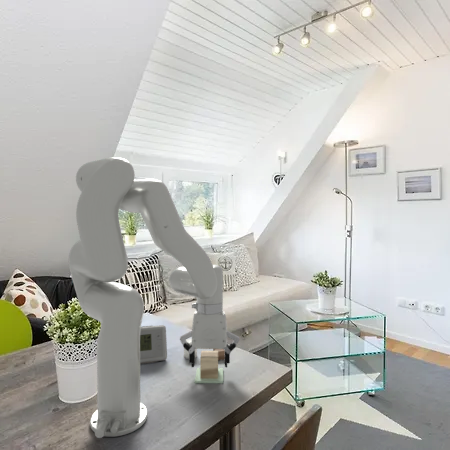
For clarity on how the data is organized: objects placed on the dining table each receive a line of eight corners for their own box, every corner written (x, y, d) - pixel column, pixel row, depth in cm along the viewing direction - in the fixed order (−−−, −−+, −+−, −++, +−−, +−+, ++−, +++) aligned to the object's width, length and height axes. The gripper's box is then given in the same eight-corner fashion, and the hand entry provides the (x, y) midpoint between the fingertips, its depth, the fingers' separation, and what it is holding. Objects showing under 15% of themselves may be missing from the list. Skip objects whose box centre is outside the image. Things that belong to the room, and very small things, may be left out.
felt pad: (223, 383, 97) (223, 381, 97) (194, 383, 97) (194, 381, 97) (223, 369, 105) (223, 368, 105) (197, 369, 105) (197, 367, 105)
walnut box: (224, 359, 112) (224, 350, 112) (215, 360, 112) (215, 351, 111) (221, 354, 116) (221, 346, 116) (213, 355, 115) (213, 346, 115)
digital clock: (112, 367, 106) (112, 333, 106) (119, 355, 115) (119, 324, 115) (166, 365, 108) (165, 332, 107) (168, 353, 117) (168, 322, 116)
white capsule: (196, 358, 113) (196, 343, 112) (183, 358, 113) (183, 343, 112) (197, 353, 117) (197, 338, 117) (184, 353, 117) (184, 338, 117)
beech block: (217, 378, 98) (218, 357, 98) (200, 378, 98) (200, 357, 98) (218, 370, 103) (218, 350, 103) (201, 370, 103) (201, 350, 103)
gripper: (178, 311, 96) (178, 371, 97) (240, 311, 96) (239, 371, 97) (181, 303, 104) (181, 359, 104) (238, 304, 104) (238, 359, 104)
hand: (209, 365), depth 101 cm, fingers open, 9 cm apart
